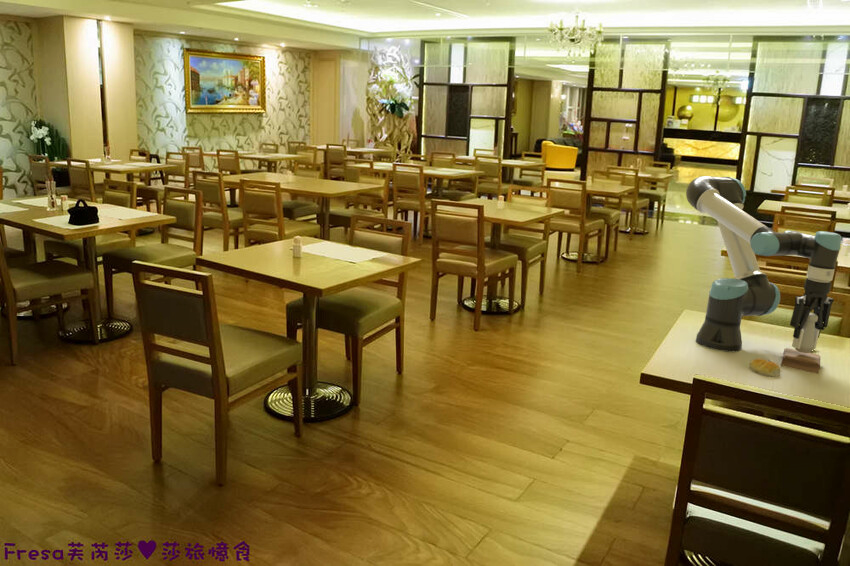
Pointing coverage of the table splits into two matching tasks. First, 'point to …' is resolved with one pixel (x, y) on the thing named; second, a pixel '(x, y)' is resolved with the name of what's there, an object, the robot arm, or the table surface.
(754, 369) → the bread roll
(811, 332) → the salt shaker
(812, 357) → the stand
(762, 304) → the robot arm
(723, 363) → the table surface
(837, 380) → the table surface
